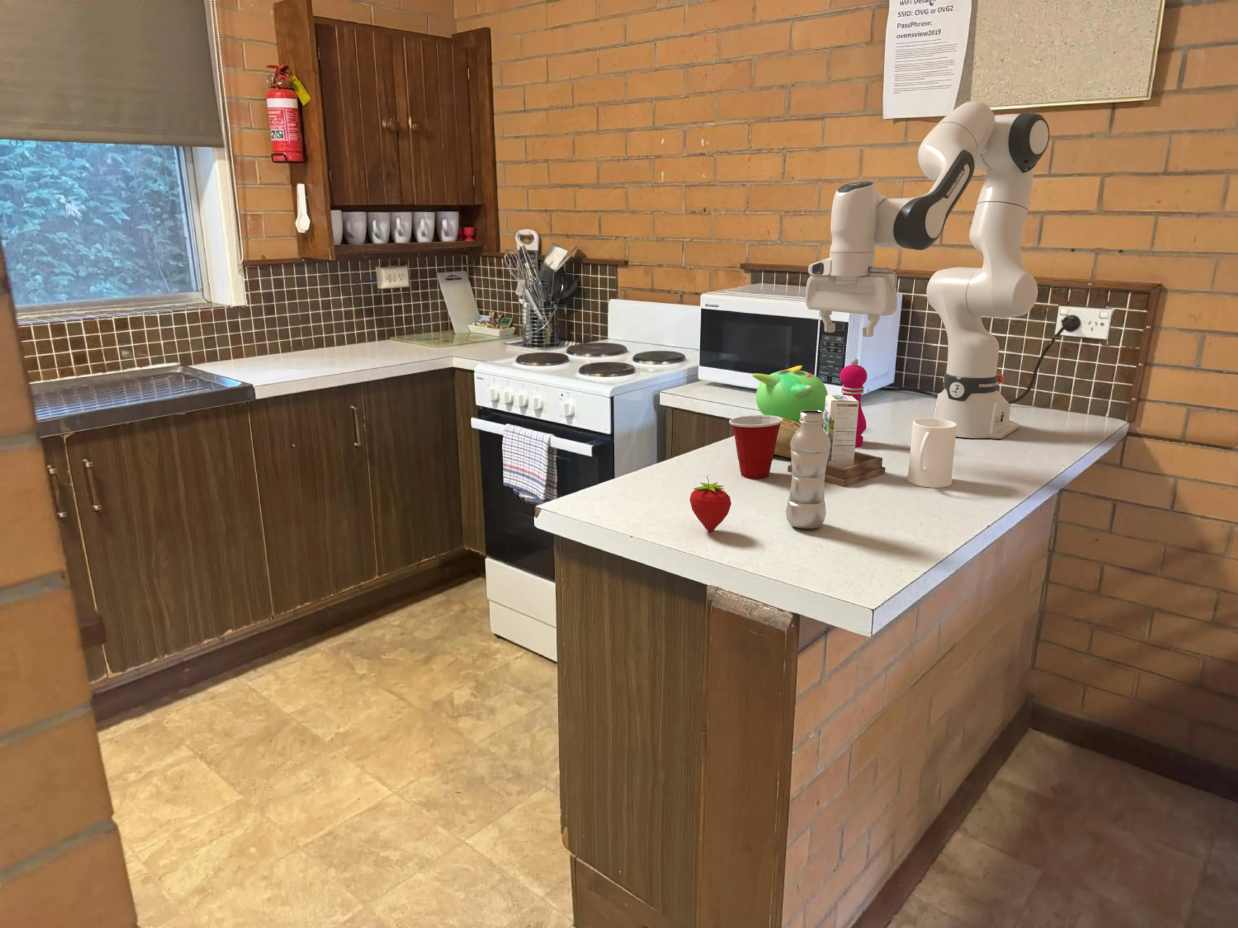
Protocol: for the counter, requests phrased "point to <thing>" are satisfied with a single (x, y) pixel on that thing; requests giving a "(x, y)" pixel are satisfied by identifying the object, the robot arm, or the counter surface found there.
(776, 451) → the bread roll
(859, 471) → the walnut stand
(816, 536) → the counter surface
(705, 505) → the strawberry
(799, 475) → the plastic bottle
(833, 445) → the syrup box
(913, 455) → the mug
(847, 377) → the pepper mill
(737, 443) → the plastic cup
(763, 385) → the toy bird
